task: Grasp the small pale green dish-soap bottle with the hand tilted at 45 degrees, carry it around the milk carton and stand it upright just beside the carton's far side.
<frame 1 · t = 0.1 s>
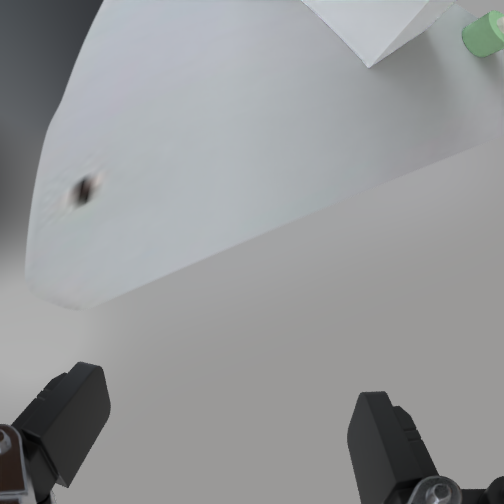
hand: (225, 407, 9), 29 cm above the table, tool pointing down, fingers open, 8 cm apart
milk: (366, 13, 30), on the table
soap bottle: (475, 41, 29), on the table
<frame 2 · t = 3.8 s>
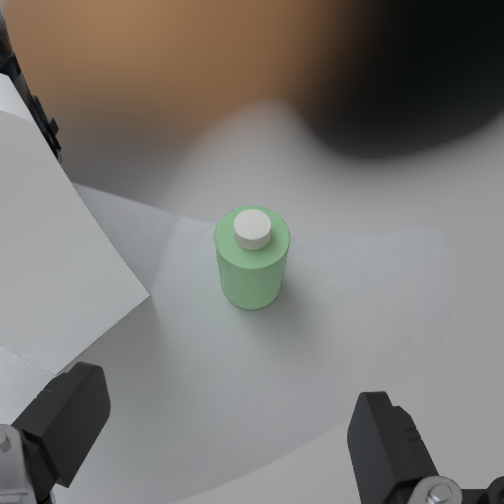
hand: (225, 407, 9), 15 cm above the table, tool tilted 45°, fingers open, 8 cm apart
milk: (71, 289, 27), on the table
soap bottle: (251, 282, 28), on the table
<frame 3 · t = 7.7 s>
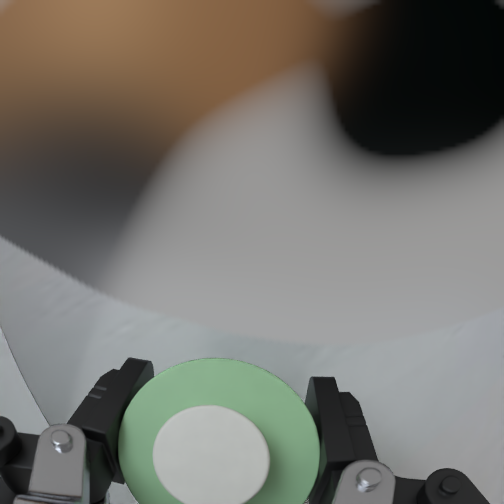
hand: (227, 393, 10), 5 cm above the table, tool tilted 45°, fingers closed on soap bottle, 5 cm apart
soap bottle: (230, 441, 13), on the table, touching gripper
when the fingers open (5 cm above the table, at t = 19.6 s): soap bottle stays where it is, on the table.
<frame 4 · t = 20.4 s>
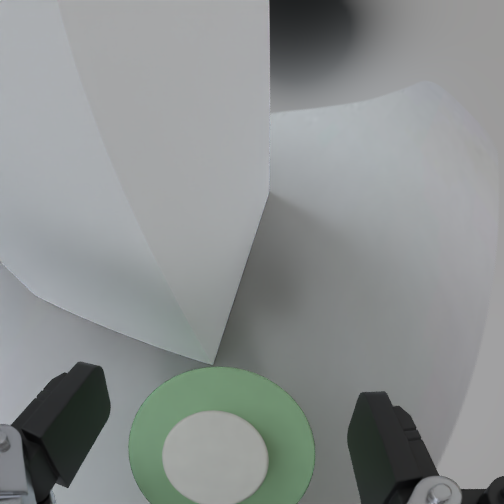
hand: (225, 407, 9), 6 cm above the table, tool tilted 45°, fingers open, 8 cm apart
milk: (149, 243, 19), on the table
soap bottle: (232, 442, 13), on the table
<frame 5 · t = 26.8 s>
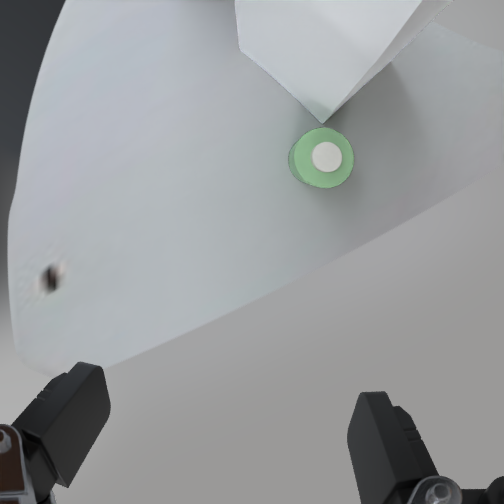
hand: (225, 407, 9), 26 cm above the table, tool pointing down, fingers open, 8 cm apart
milk: (317, 52, 29), on the table
soap bottle: (312, 160, 32), on the table
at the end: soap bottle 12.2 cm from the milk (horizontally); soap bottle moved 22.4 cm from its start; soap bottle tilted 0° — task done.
